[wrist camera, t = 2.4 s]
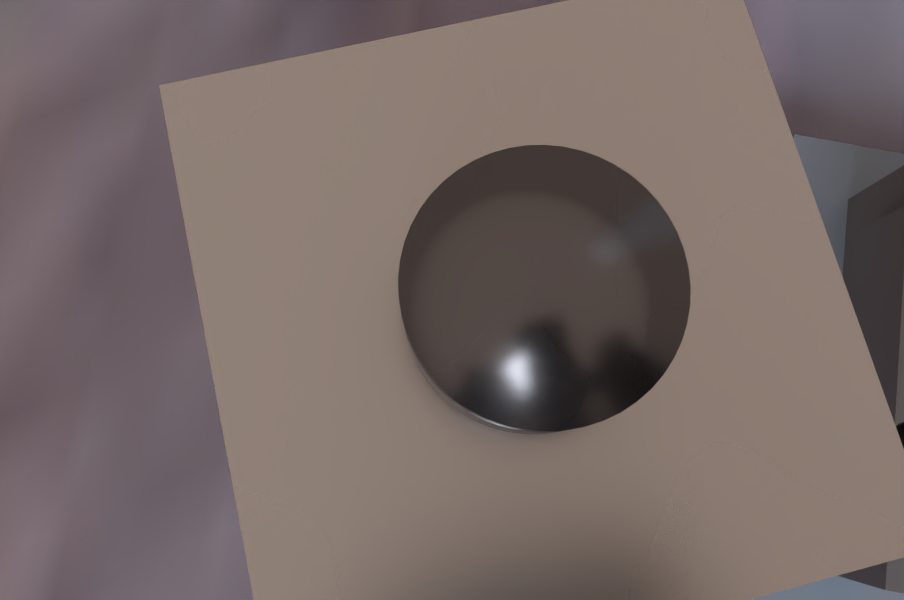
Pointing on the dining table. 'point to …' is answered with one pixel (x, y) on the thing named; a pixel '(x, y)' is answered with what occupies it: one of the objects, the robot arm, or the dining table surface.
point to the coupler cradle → (863, 301)
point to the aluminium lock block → (531, 316)
